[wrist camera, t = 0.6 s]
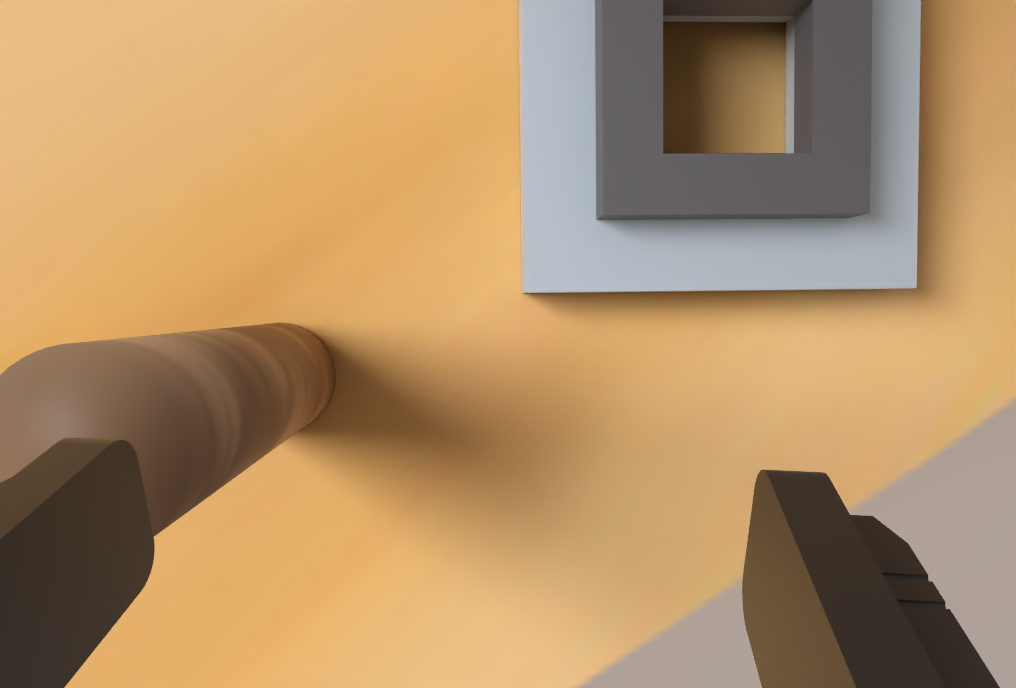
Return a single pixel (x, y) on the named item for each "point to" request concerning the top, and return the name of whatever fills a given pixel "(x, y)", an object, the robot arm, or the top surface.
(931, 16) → the top surface
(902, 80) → the socket
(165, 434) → the peg
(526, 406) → the top surface
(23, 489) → the robot arm
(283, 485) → the top surface
